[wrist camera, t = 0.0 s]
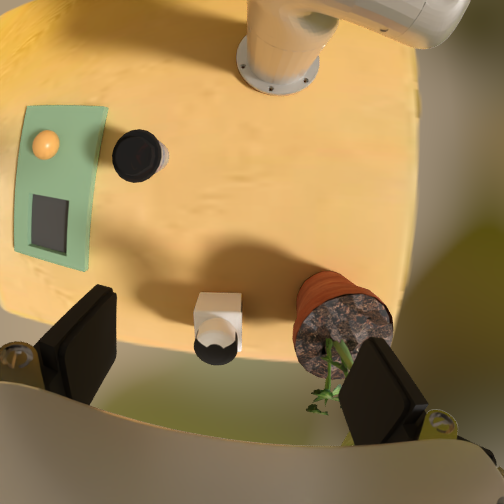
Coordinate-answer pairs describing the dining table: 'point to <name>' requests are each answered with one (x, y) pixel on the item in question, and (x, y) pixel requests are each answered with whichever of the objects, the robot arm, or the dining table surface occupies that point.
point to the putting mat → (58, 184)
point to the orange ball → (46, 144)
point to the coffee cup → (139, 156)
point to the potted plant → (336, 329)
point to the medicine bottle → (218, 327)
